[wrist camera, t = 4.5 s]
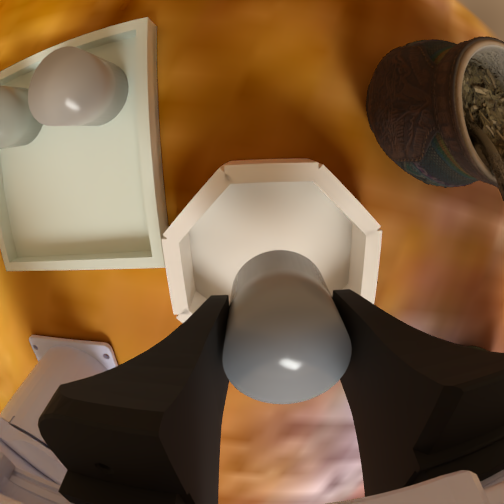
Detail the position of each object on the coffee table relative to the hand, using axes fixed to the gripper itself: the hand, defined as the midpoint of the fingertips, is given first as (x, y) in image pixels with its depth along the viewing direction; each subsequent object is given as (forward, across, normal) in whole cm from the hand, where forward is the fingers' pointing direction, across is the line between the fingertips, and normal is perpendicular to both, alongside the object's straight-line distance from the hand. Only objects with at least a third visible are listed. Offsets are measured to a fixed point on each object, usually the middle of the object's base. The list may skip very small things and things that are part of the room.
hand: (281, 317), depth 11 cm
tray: (+7, +12, -6) cm, 15 cm away
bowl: (+7, 0, 0) cm, 7 cm away
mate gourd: (+7, -8, -8) cm, 13 cm away
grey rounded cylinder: (+1, 0, 0) cm, 1 cm away
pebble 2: (+6, +9, -10) cm, 14 cm away
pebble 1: (+6, +14, -10) cm, 18 cm away
